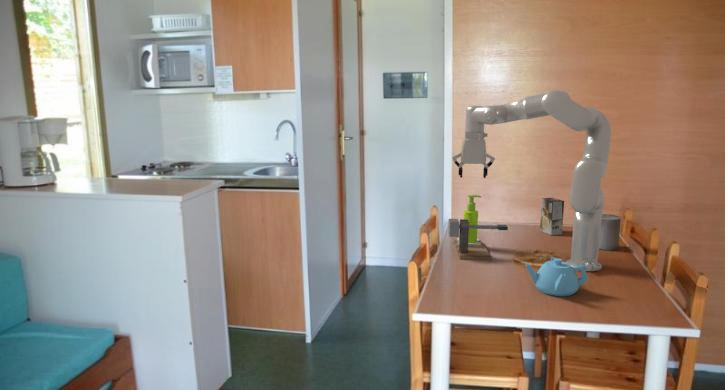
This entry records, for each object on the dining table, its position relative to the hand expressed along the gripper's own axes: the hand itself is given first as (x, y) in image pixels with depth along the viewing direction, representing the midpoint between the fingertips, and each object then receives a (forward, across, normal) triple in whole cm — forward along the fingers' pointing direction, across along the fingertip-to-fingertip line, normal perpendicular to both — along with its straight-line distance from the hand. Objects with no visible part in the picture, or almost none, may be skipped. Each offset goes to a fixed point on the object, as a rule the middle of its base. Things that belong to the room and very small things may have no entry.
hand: (472, 177), depth 224 cm
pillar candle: (+31, -58, -6) cm, 66 cm away
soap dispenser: (+28, 0, 0) cm, 28 cm away
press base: (+30, 0, +6) cm, 31 cm away
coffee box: (+30, -40, -30) cm, 58 cm away
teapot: (+31, -24, +48) cm, 62 cm away
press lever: (+22, -2, +13) cm, 25 cm away
